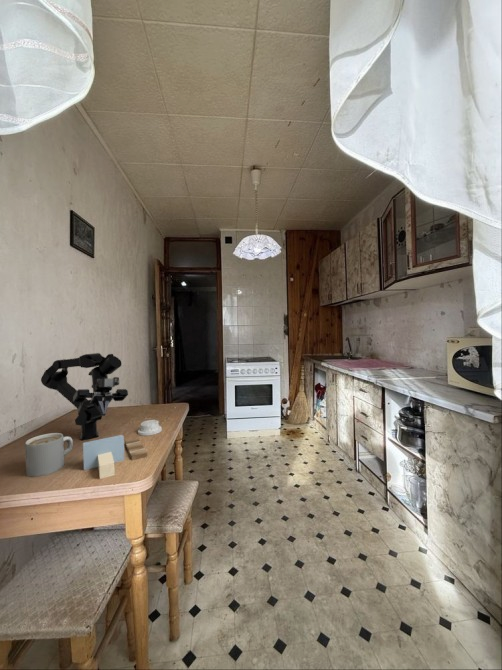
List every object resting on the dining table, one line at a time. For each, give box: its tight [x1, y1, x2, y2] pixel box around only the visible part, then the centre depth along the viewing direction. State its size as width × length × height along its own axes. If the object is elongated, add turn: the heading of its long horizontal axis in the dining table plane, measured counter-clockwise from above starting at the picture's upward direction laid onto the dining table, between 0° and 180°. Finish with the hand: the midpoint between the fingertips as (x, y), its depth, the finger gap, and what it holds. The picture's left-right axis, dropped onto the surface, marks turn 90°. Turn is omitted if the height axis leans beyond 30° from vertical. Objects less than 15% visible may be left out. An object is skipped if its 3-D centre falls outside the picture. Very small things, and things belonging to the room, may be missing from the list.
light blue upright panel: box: [82, 434, 125, 480], centre depth 88 cm, size 12×12×8 cm
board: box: [124, 438, 148, 461], centre depth 101 cm, size 16×5×1 cm, turn 33°
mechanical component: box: [137, 419, 163, 437], centre depth 120 cm, size 10×4×10 cm
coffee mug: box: [24, 432, 74, 478], centre depth 90 cm, size 13×10×10 cm
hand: (104, 415), depth 104 cm, fingers closed
